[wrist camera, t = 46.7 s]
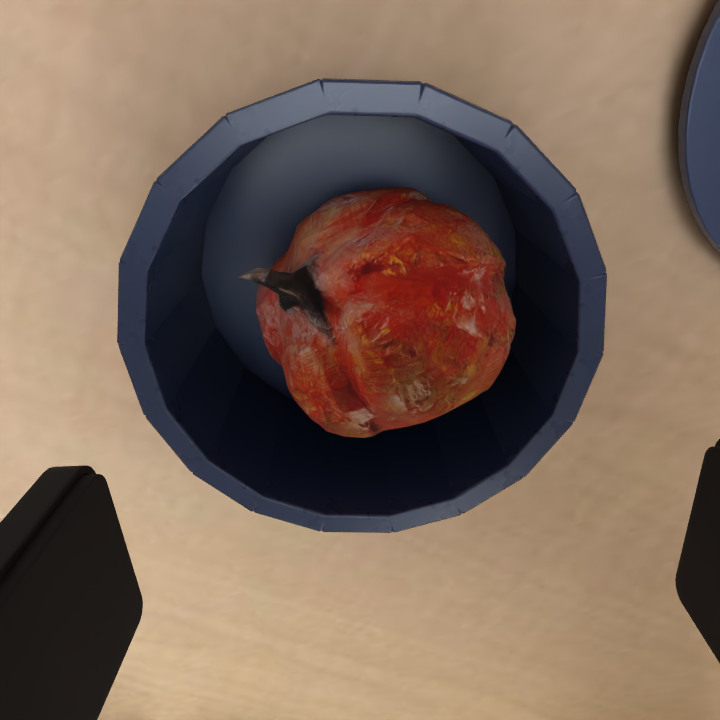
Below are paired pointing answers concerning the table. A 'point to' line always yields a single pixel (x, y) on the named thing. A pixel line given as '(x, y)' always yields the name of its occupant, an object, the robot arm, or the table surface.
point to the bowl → (272, 240)
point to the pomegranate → (385, 311)
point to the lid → (703, 132)
